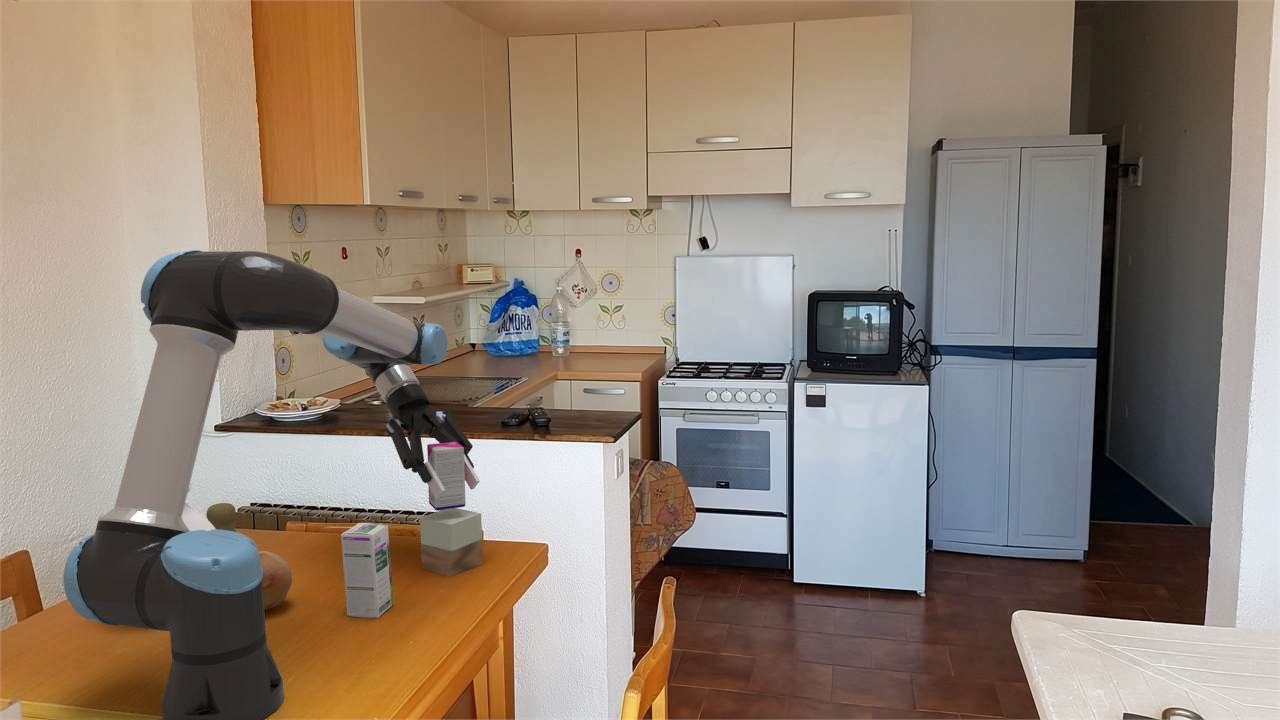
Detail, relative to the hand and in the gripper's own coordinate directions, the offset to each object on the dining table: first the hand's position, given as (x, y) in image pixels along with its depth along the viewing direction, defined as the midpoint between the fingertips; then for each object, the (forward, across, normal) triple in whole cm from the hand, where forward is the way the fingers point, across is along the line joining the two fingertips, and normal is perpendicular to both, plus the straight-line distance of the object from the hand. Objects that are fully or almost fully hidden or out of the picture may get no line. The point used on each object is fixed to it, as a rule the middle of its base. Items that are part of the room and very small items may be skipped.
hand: (458, 489), depth 178 cm
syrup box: (+14, +22, -8) cm, 27 cm away
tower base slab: (+9, 0, -13) cm, 16 cm away
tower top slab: (+5, 0, -10) cm, 11 cm away
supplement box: (0, 0, -5) cm, 5 cm away
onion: (+3, +33, -19) cm, 38 cm away
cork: (-17, +26, -40) cm, 51 cm away
